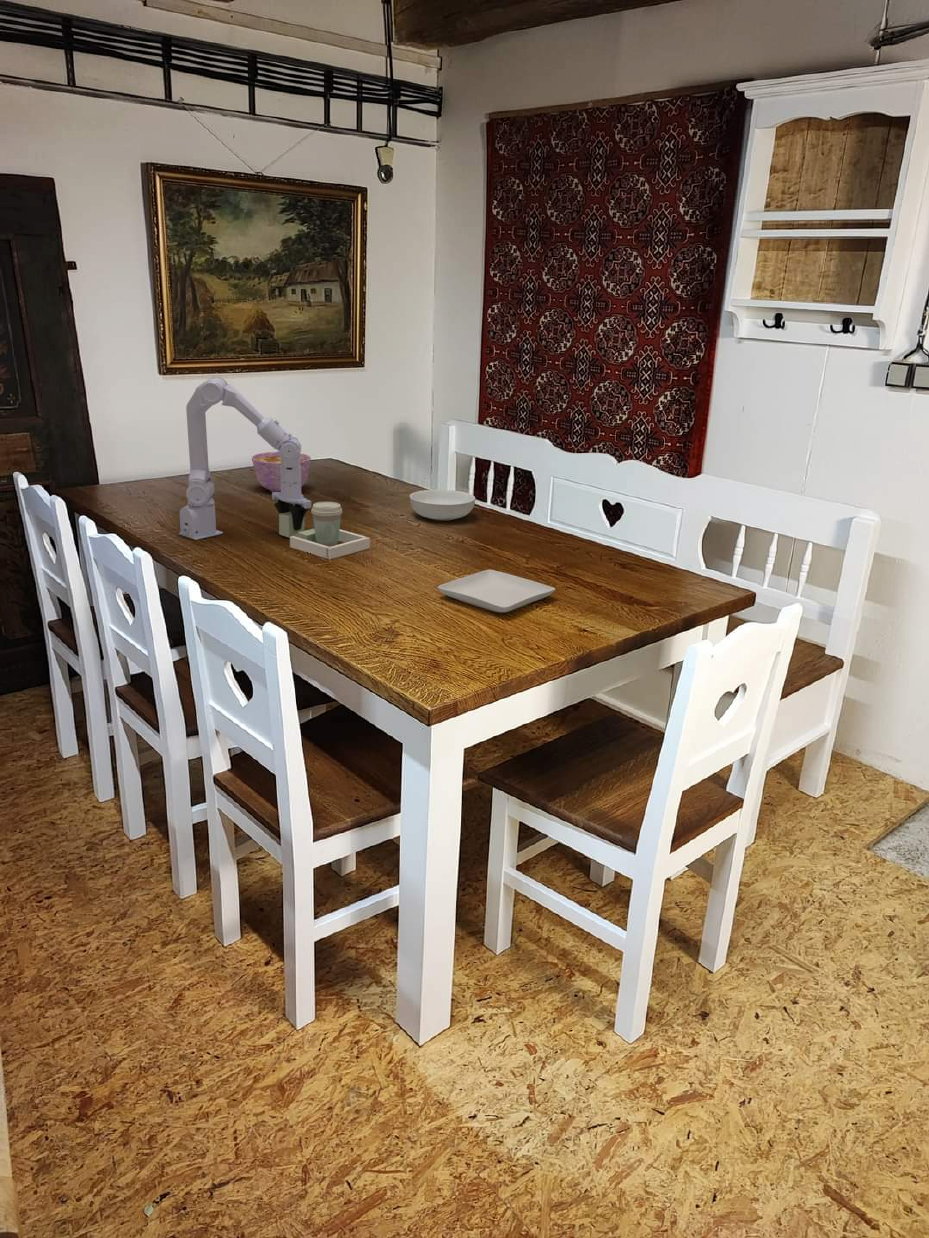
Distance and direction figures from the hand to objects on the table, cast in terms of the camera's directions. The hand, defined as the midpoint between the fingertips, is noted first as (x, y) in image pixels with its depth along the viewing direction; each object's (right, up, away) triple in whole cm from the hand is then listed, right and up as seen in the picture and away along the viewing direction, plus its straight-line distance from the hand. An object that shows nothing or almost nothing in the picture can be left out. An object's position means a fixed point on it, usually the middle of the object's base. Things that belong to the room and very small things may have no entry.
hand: (292, 528), depth 261 cm
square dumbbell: (+3, -3, -2) cm, 5 cm away
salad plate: (+57, -22, -41) cm, 73 cm away
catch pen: (+12, -6, -8) cm, 16 cm away
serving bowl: (+42, +6, +29) cm, 51 cm away
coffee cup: (+11, -6, -7) cm, 15 cm away
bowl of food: (-13, +18, +52) cm, 57 cm away
